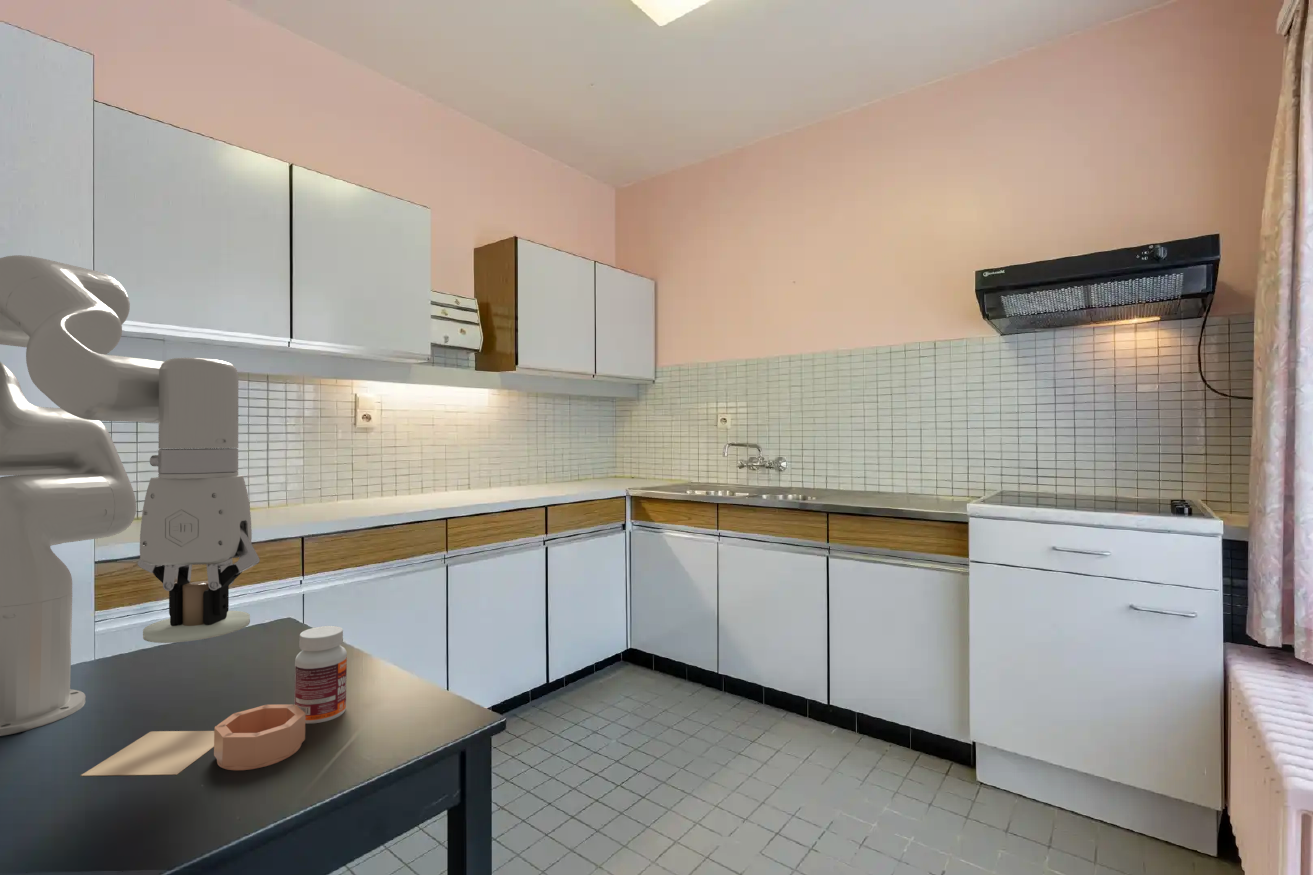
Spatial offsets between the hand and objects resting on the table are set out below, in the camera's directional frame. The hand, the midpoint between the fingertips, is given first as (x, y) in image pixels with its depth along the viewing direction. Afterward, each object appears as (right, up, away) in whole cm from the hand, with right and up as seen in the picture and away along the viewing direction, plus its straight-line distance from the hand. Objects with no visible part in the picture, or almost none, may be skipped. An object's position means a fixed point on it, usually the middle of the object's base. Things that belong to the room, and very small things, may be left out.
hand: (199, 620), depth 72 cm
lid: (0, -1, 0) cm, 1 cm away
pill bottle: (+8, -16, +11) cm, 21 cm away
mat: (-4, -16, 0) cm, 16 cm away
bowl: (+7, -16, +1) cm, 17 cm away
